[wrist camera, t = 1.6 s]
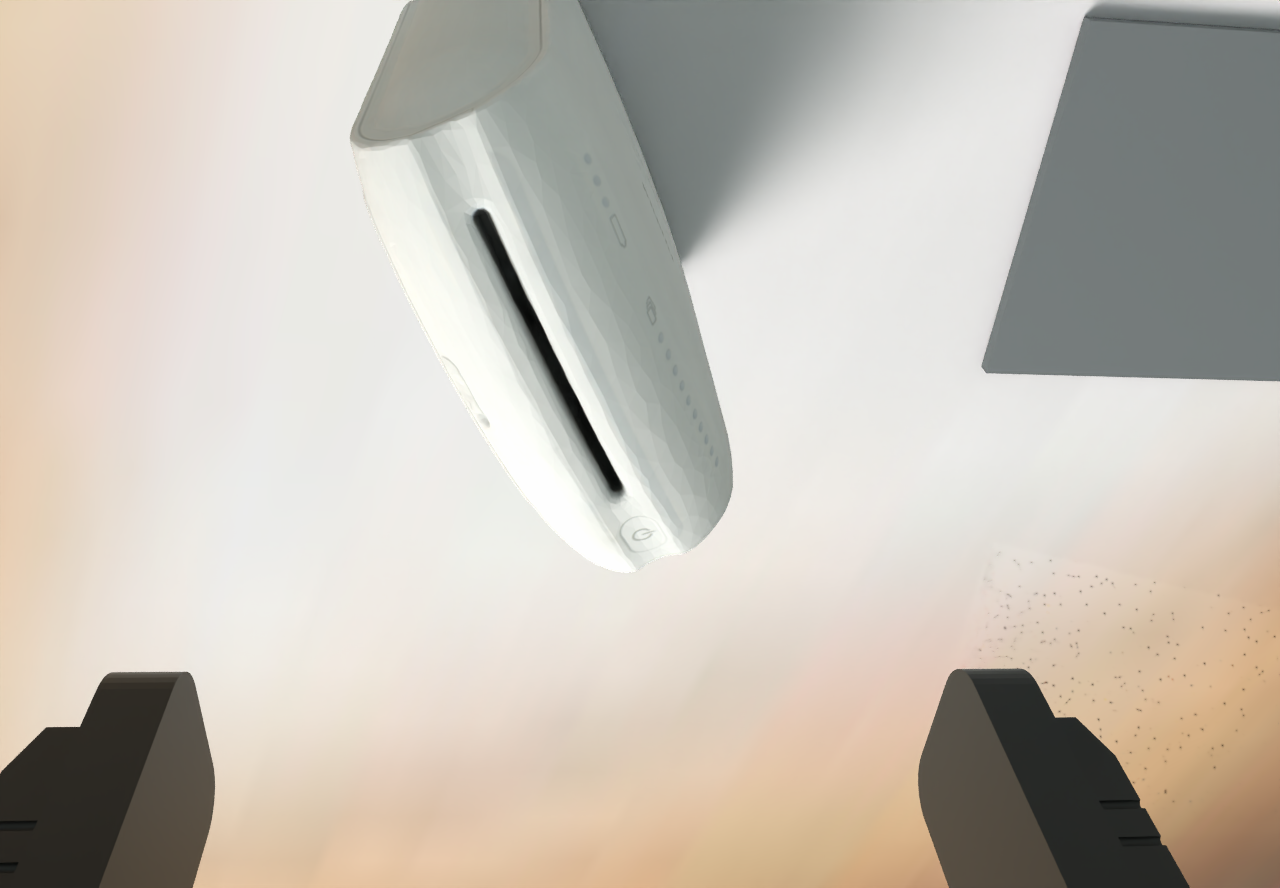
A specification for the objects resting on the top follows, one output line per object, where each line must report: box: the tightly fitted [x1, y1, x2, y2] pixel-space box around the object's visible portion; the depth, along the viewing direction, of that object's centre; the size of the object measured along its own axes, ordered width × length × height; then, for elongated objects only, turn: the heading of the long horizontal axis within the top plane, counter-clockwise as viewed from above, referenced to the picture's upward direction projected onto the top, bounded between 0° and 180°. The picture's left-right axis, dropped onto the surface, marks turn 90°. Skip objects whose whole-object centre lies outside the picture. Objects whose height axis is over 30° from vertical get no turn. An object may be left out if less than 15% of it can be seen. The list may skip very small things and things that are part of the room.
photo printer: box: [350, 0, 733, 573], centre depth 22 cm, size 10×4×12 cm, turn 21°
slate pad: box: [982, 17, 1280, 381], centre depth 30 cm, size 12×10×1 cm
